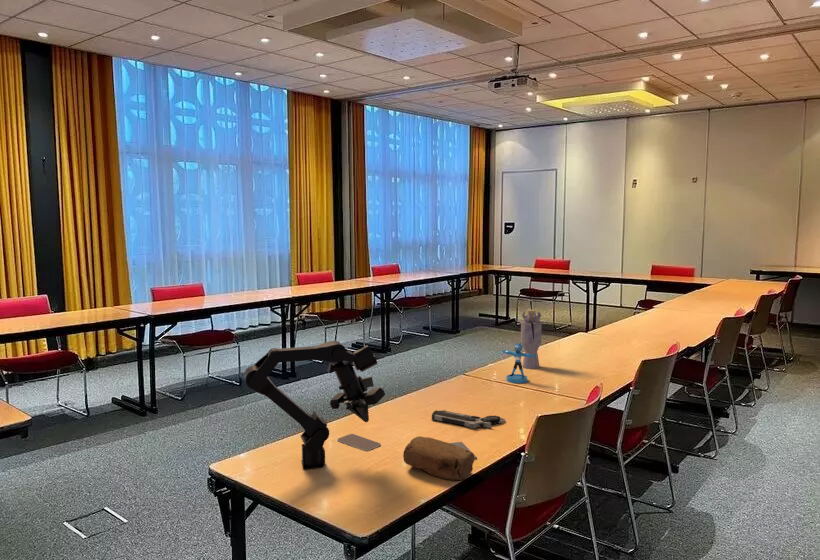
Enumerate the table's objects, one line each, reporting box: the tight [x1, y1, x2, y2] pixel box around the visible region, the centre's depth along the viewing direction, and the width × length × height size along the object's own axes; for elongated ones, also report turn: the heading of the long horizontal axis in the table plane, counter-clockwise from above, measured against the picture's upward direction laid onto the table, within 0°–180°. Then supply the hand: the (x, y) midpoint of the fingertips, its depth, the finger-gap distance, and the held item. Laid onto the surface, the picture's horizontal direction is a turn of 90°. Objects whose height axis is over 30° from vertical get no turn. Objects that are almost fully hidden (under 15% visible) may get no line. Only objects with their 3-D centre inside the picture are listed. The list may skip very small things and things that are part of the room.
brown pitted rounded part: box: [402, 435, 475, 481], centre depth 177 cm, size 11×8×20 cm
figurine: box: [501, 342, 536, 384], centre depth 277 cm, size 18×10×18 cm, turn 52°
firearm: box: [431, 409, 506, 429], centre depth 222 cm, size 3×24×15 cm
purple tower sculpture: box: [520, 309, 543, 370], centre depth 303 cm, size 10×10×30 cm
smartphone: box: [337, 433, 382, 452], centre depth 201 cm, size 7×1×15 cm
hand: (367, 421), depth 187 cm, fingers closed
